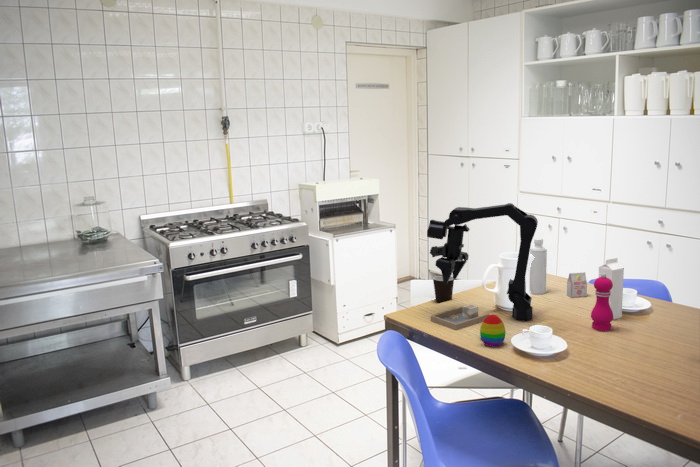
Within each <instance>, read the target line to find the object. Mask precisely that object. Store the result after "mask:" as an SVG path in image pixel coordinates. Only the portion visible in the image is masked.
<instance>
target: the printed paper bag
mask: <svg viewBox="0 0 700 467" xmlns="http://www.w3.org/2000/svg"><path fill="white" fill-rule="evenodd" d="M586 274H587V273H586V272H573V273H572V272H570V273H568V278H567V282H566V296H567V297H569V298H570V299H575V298H577V299H578V298H587V296H588V293H587V292H588V281H587V276H586Z"/></svg>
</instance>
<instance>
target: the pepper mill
mask: <svg viewBox="0 0 700 467" xmlns="http://www.w3.org/2000/svg"><path fill="white" fill-rule="evenodd" d="M593 287H594V289H595V290H594V291H595V292H594V294H595V296H596V300H595V304H594V306H593V308H592V310H591V312H590V319H591V320H592V322H591V328H592V330H595V331H598V332H609V331H611V330H612V323H611V322H613V321H614V320H613V312H612V310H611V308H610V305H609V296H611V291H610V290H611V289H612V287H613V283H612V281H611V280H610V279H609V278H607V277H606V274H605V273H602V274H601V277H599V276H598V277H596V279H595V280H594V281H593Z"/></svg>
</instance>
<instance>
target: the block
mask: <svg viewBox="0 0 700 467" xmlns="http://www.w3.org/2000/svg"><path fill="white" fill-rule="evenodd" d="M478 316H479V306H477V305H473V304H467V305H464V306H463V317H465V318H468V319H472V318H476V317H478Z"/></svg>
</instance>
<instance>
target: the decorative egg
mask: <svg viewBox="0 0 700 467" xmlns="http://www.w3.org/2000/svg"><path fill="white" fill-rule="evenodd" d="M479 336H480V339H481V340H482V341H483V344H484V345H486V346H489V347H498V346H501V345H502V344H503V343H504V341H505V338H506V327H505V325H504V322H503V320H502V318H500V317H499V316H498V315H497V314H489V316H487V317H486V318H485V319H484V321H483V322H481V325H480V330H479Z"/></svg>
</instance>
